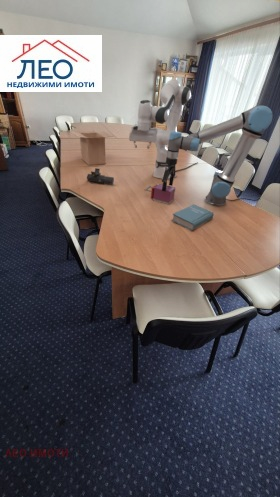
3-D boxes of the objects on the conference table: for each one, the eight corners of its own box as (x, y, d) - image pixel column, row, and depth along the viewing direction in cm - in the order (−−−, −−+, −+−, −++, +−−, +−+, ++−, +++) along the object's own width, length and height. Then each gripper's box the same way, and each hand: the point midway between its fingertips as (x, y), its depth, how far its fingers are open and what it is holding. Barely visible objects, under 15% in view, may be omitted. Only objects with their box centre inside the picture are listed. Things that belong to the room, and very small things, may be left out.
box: (116, 165, 229) (116, 136, 213) (83, 168, 214) (80, 137, 198) (102, 154, 259) (101, 128, 243) (71, 156, 244) (68, 129, 228)
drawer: (143, 196, 168) (144, 186, 163) (148, 192, 174) (149, 182, 170) (164, 201, 162) (166, 191, 157) (169, 197, 169) (170, 187, 164)
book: (192, 210, 154) (193, 204, 151) (212, 219, 146) (214, 212, 143) (171, 220, 141) (173, 213, 138) (192, 231, 132) (194, 224, 129)
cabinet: (153, 200, 165) (154, 187, 159) (158, 195, 173) (159, 183, 167) (168, 204, 161) (170, 191, 155) (173, 199, 168) (175, 187, 163)
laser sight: (111, 186, 182) (110, 174, 176) (85, 182, 185) (84, 170, 179) (114, 182, 190) (114, 170, 184) (89, 179, 192) (88, 167, 186)
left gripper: (157, 127, 162) (155, 147, 170) (129, 125, 160) (128, 146, 168) (158, 128, 156) (156, 149, 165) (129, 127, 154) (128, 148, 163)
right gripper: (173, 153, 158) (168, 182, 171) (159, 160, 140) (155, 192, 152) (183, 155, 156) (177, 184, 168) (170, 162, 137) (165, 194, 150)
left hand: (142, 148), depth 166 cm, fingers open, 8 cm apart
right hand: (167, 188), depth 160 cm, fingers open, 13 cm apart
